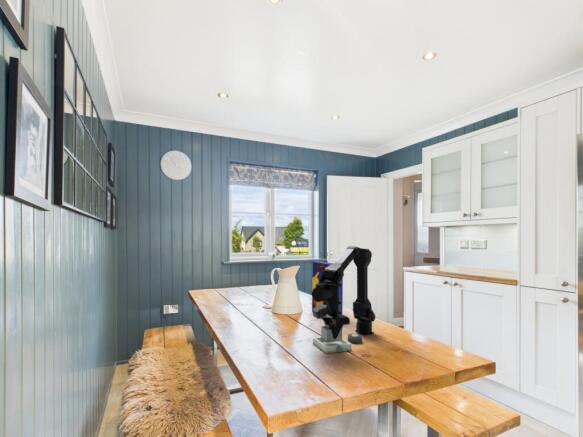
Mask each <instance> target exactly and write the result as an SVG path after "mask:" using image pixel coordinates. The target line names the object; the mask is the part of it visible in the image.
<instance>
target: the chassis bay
mask: <svg viewBox="0 0 583 437" xmlns="http://www.w3.org/2000/svg"><path fill="white" fill-rule="evenodd" d="M312 344H313V346H314V347H316V348H318V349H319V350H320V351H322V352H323V353H324V354H331V353H332V354H333V353H342V352H348V351H352V343H350V342H348V340H346V339H344V338H343V337H342V341H337V342H329V343H327V342H325V341H324V340H322V339H321V336H317V337H313V338H312Z"/></svg>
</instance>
